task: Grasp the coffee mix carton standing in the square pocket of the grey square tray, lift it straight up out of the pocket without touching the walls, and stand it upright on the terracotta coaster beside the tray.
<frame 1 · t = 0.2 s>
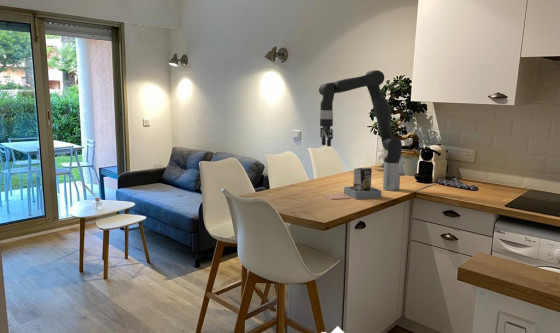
hand: (326, 145, 246), 29 cm above the countertop, fingers open, 8 cm apart
coaster: (336, 196, 241), on the countertop
coffee box: (362, 195, 245), resting in grey square tray
grey square tray: (362, 195, 245), on the countertop
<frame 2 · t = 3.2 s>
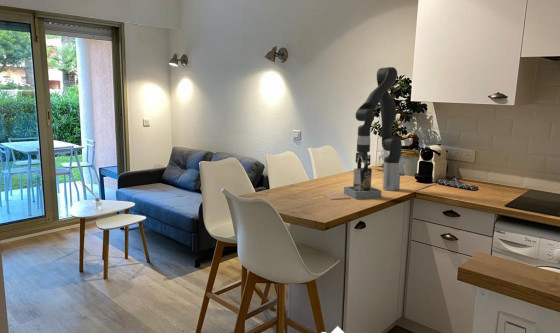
hand: (362, 171, 243), 14 cm above the countertop, fingers open, 8 cm apart
coffee box: (362, 195, 245), resting in grey square tray, touching gripper
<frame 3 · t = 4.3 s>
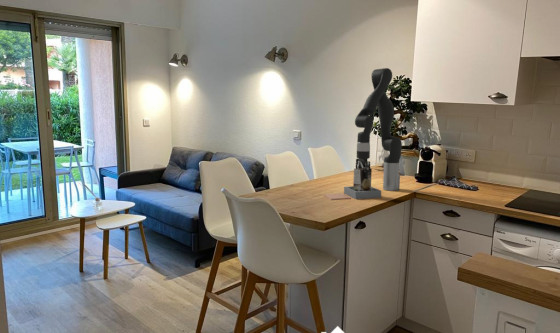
hand: (362, 177, 244), 11 cm above the countertop, fingers closed on coffee box, 8 cm apart
coffee box: (362, 195, 245), resting in grey square tray, touching gripper
when the fingers open (12 cm above the countertop, at t = 13.2 s): coffee box stays where it is, resting on coaster.
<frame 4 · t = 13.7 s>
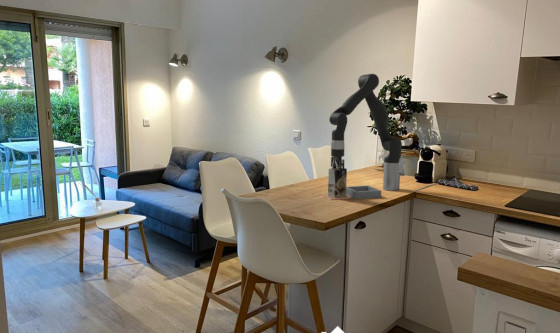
hand: (337, 176, 239), 12 cm above the countertop, fingers open, 8 cm apart
coffee box: (337, 196, 241), resting on coaster
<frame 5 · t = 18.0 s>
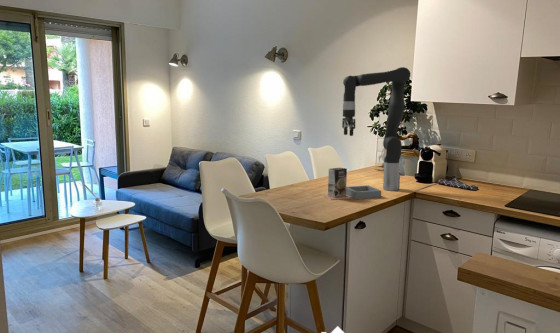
hand: (348, 135, 258), 34 cm above the countertop, fingers open, 8 cm apart
nothing on the countertop moved.
at the end: coffee box 0.2 cm off-centre on the coaster, point 0.4 cm above the coaster's base; coffee box tilted 0°; the gripper is holding nothing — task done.
